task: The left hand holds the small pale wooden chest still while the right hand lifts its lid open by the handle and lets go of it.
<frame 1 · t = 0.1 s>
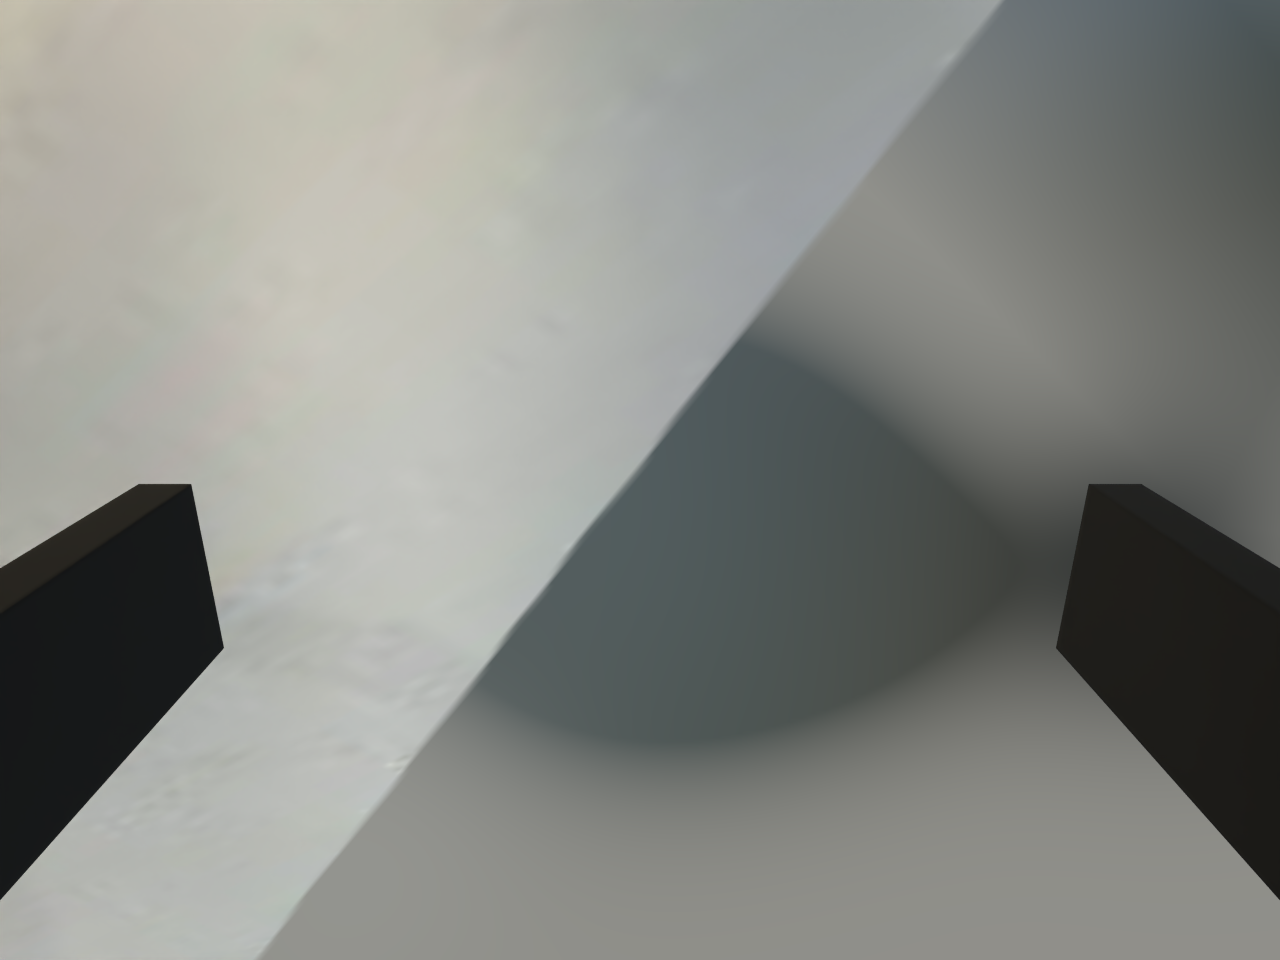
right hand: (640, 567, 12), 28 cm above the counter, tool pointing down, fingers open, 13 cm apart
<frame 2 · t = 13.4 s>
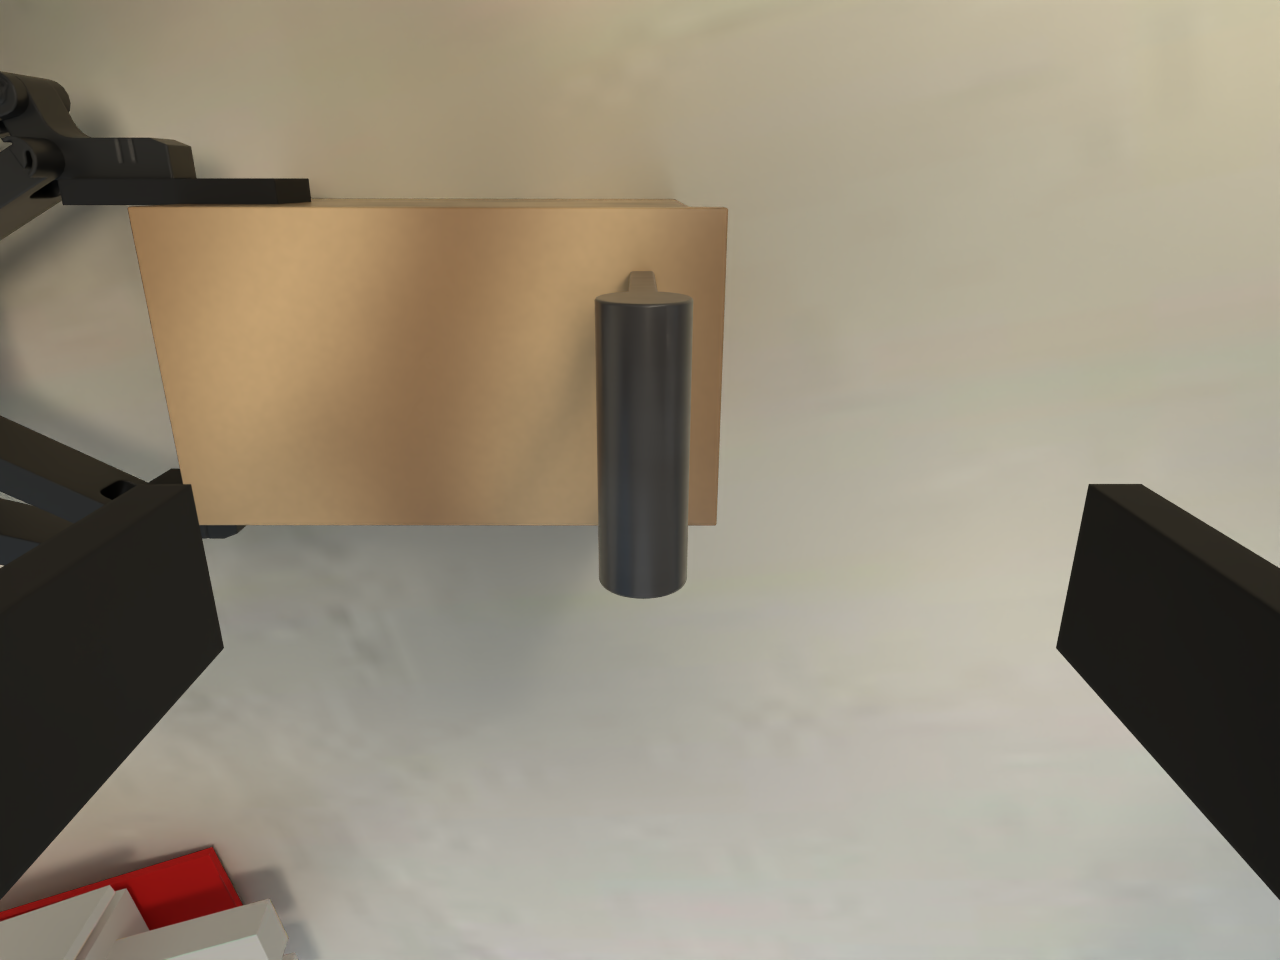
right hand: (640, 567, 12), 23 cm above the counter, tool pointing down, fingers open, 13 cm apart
chest: (486, 320, 34), on the counter, touching left hand
toy: (57, 936, 45), on the counter
lid: (411, 407, 21), point 14 cm above the counter, hinge at 0.0°
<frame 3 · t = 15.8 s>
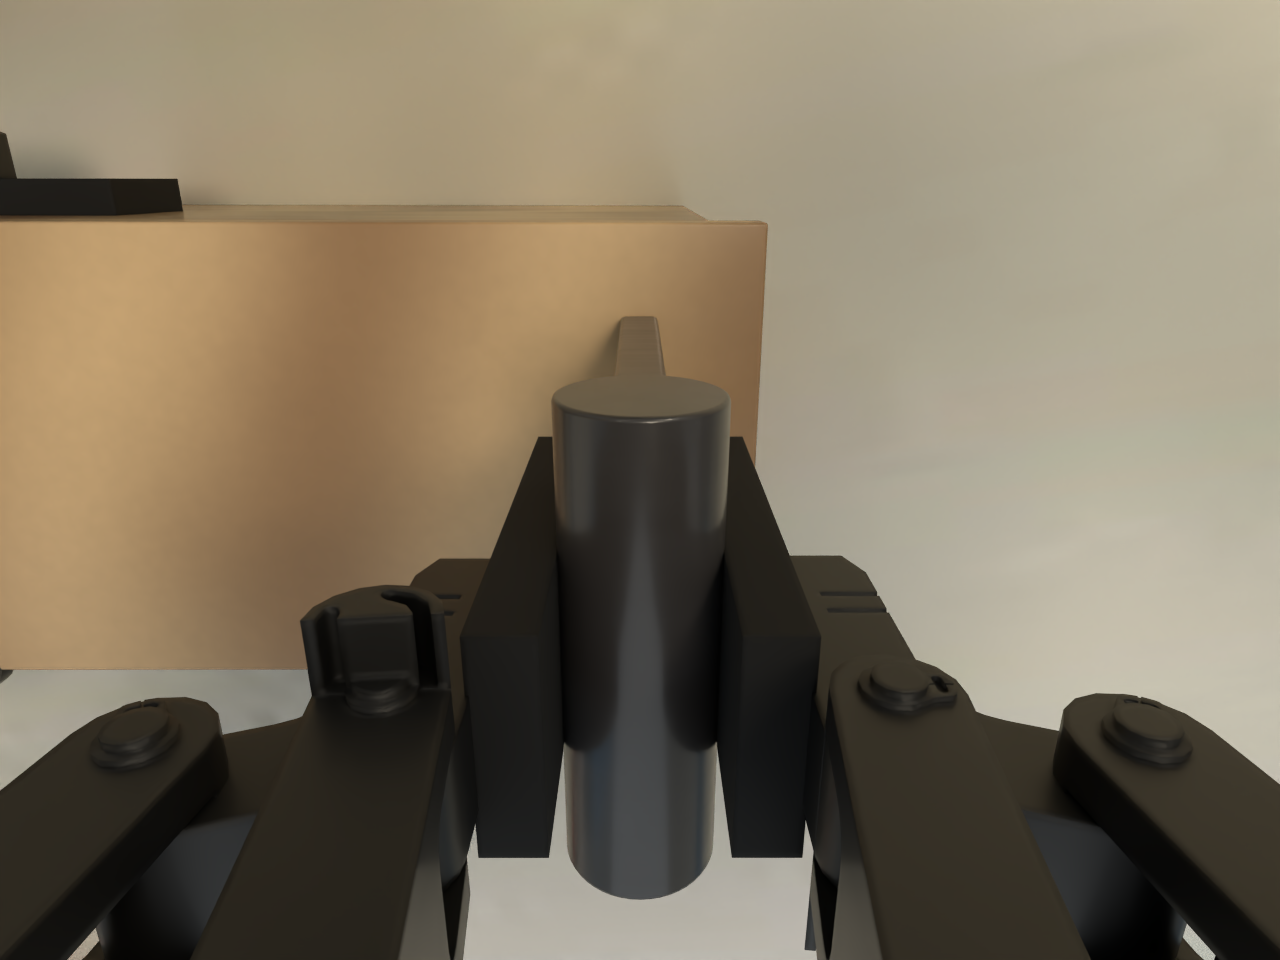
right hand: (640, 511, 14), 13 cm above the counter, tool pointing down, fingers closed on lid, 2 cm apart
chest: (439, 361, 26), on the counter, touching left hand
lid: (278, 537, 13), point 14 cm above the counter, hinge at -0.1°, touching right hand
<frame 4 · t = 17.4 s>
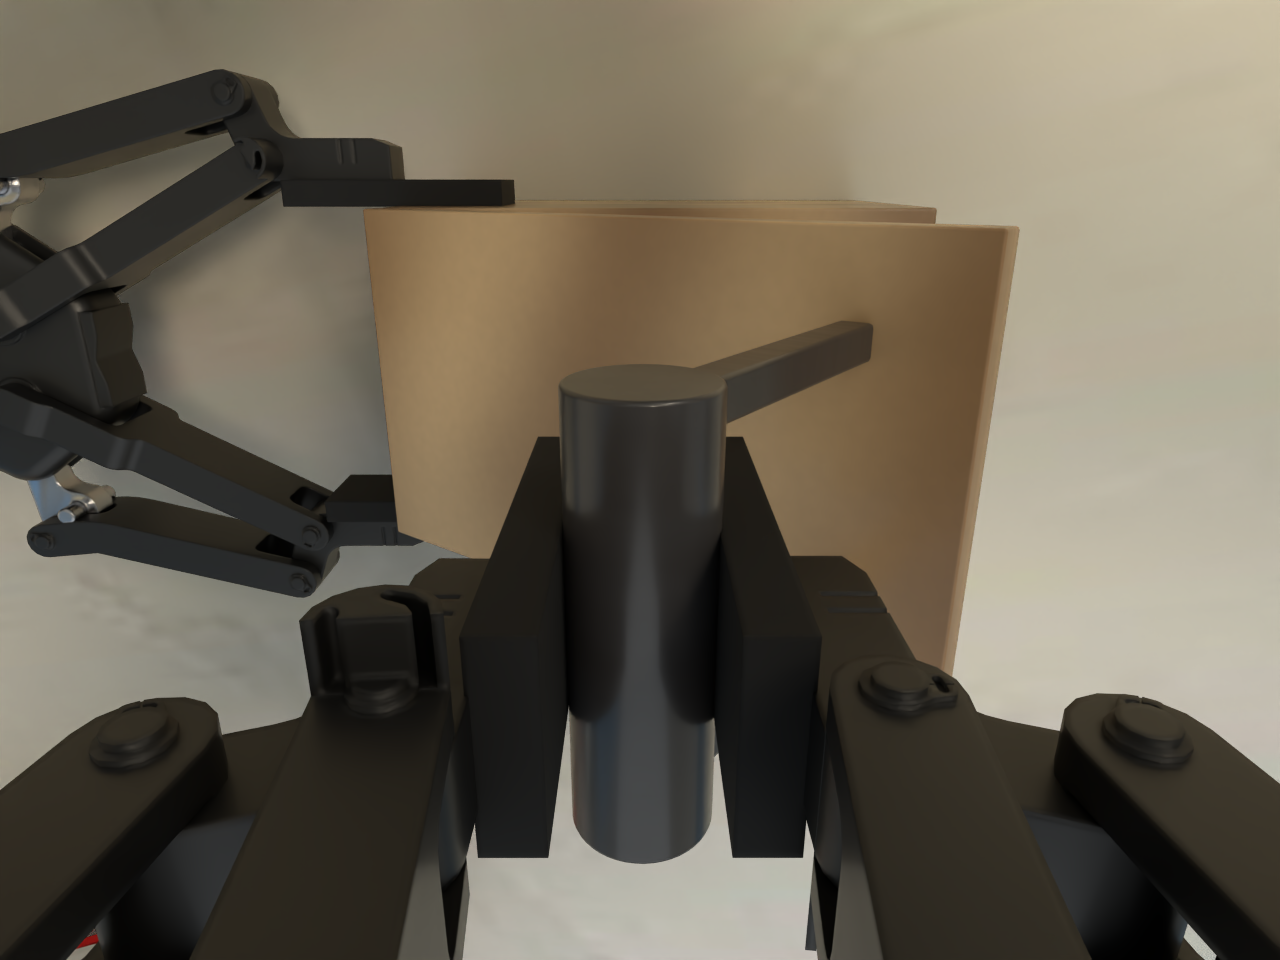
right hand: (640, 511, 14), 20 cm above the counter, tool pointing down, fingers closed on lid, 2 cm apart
left hand: (516, 354, 27), fingers closed on chest, 9 cm apart
chest: (653, 323, 33), on the counter, touching left hand
toy: (178, 946, 45), on the counter
lid: (500, 467, 17), point 18 cm above the counter, hinge at 35.8°, touching right hand
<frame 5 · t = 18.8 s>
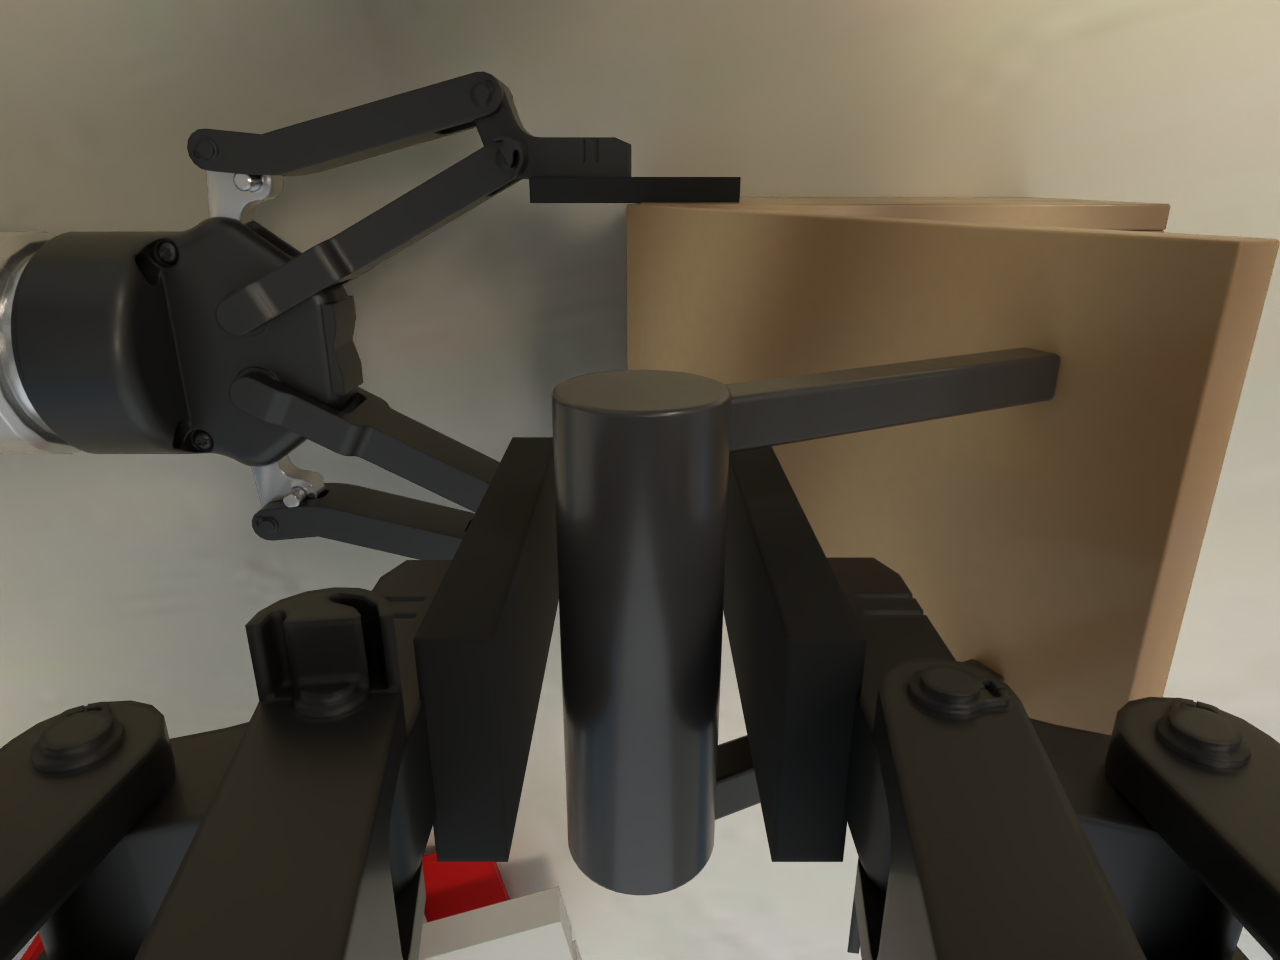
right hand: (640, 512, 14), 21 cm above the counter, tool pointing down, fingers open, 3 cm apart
left hand: (729, 345, 28), fingers closed on chest, 9 cm apart
chest: (825, 316, 34), on the counter, touching left hand
toy: (318, 925, 46), on the counter
lid: (652, 463, 17), point 19 cm above the counter, hinge at 62.9°
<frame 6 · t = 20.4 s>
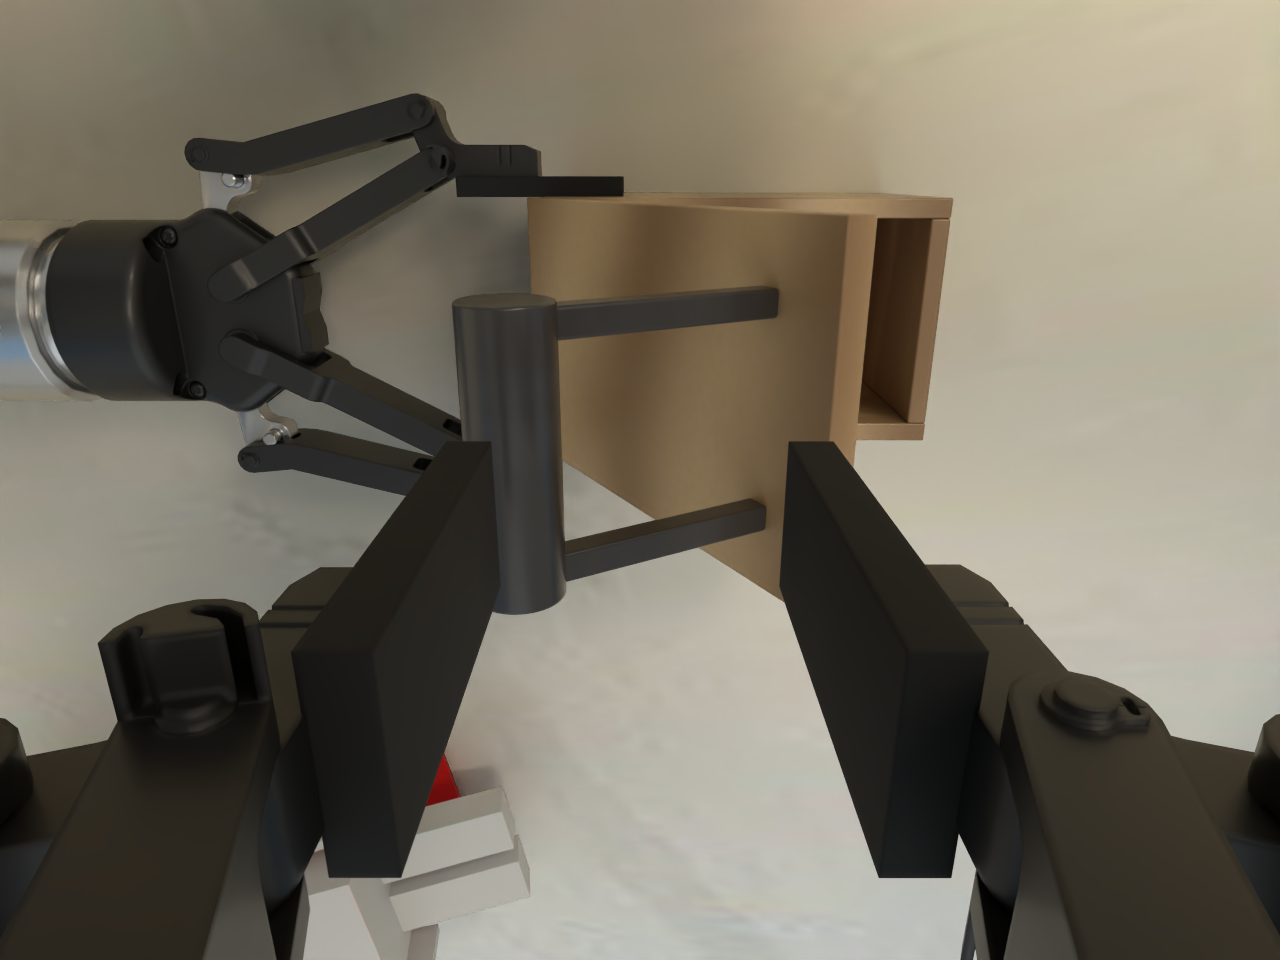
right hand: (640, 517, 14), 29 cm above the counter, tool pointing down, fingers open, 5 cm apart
left hand: (623, 312, 35), fingers closed on chest, 9 cm apart
chest: (719, 293, 41), on the counter, touching left hand
toy: (296, 829, 53), on the counter
lid: (539, 380, 23), point 19 cm above the counter, hinge at 59.2°
when the left hand's fingers open (6 cm above the counter, at t = 22.8 s): chest stays where it is, on the counter.
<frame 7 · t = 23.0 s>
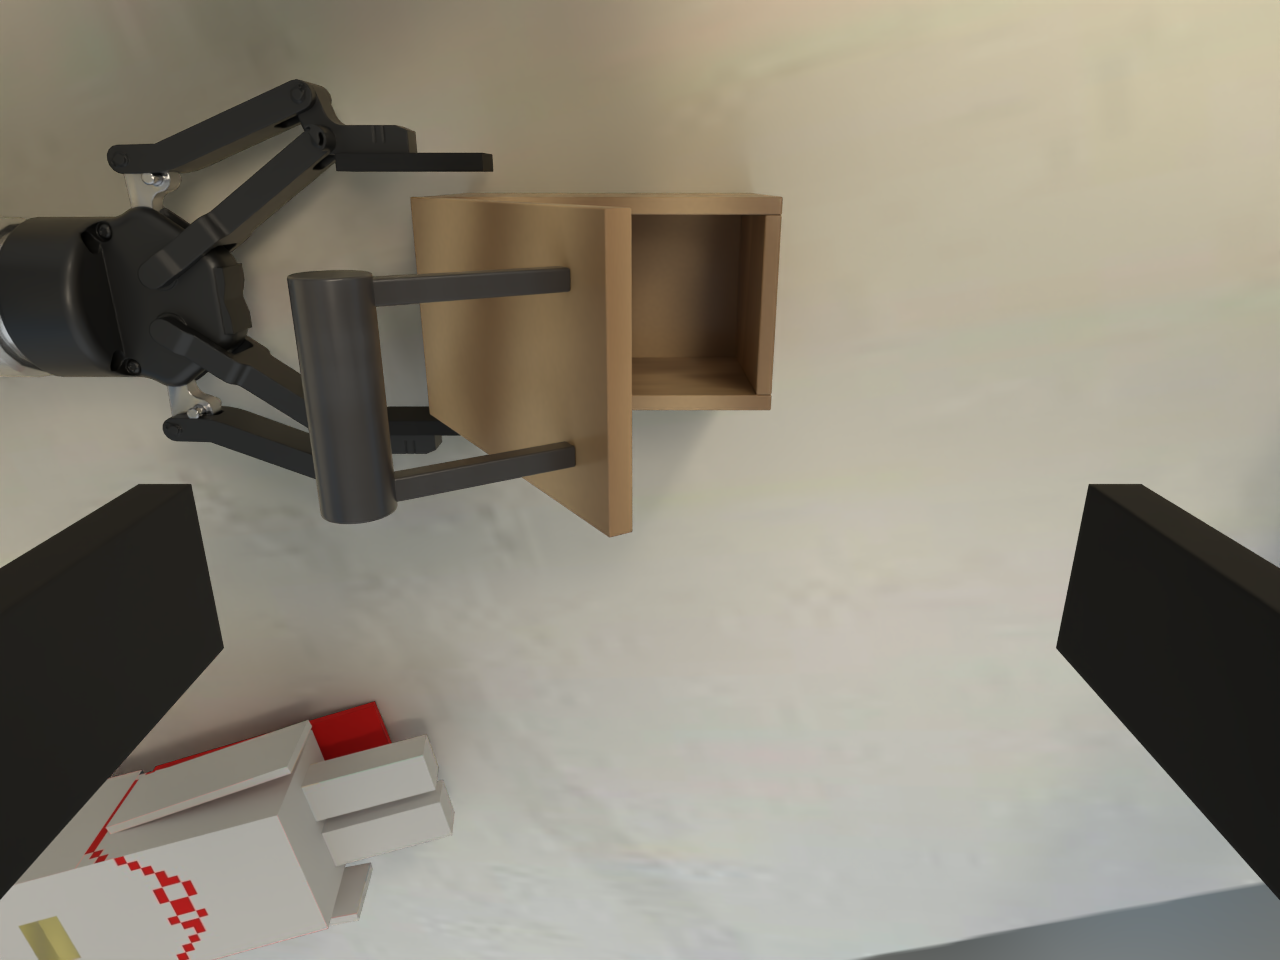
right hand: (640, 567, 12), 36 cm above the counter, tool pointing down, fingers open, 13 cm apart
left hand: (496, 298, 40), fingers open, 11 cm apart
chest: (610, 283, 46), on the counter
toy: (244, 778, 57), on the counter
lid: (399, 349, 28), point 19 cm above the counter, hinge at 57.8°
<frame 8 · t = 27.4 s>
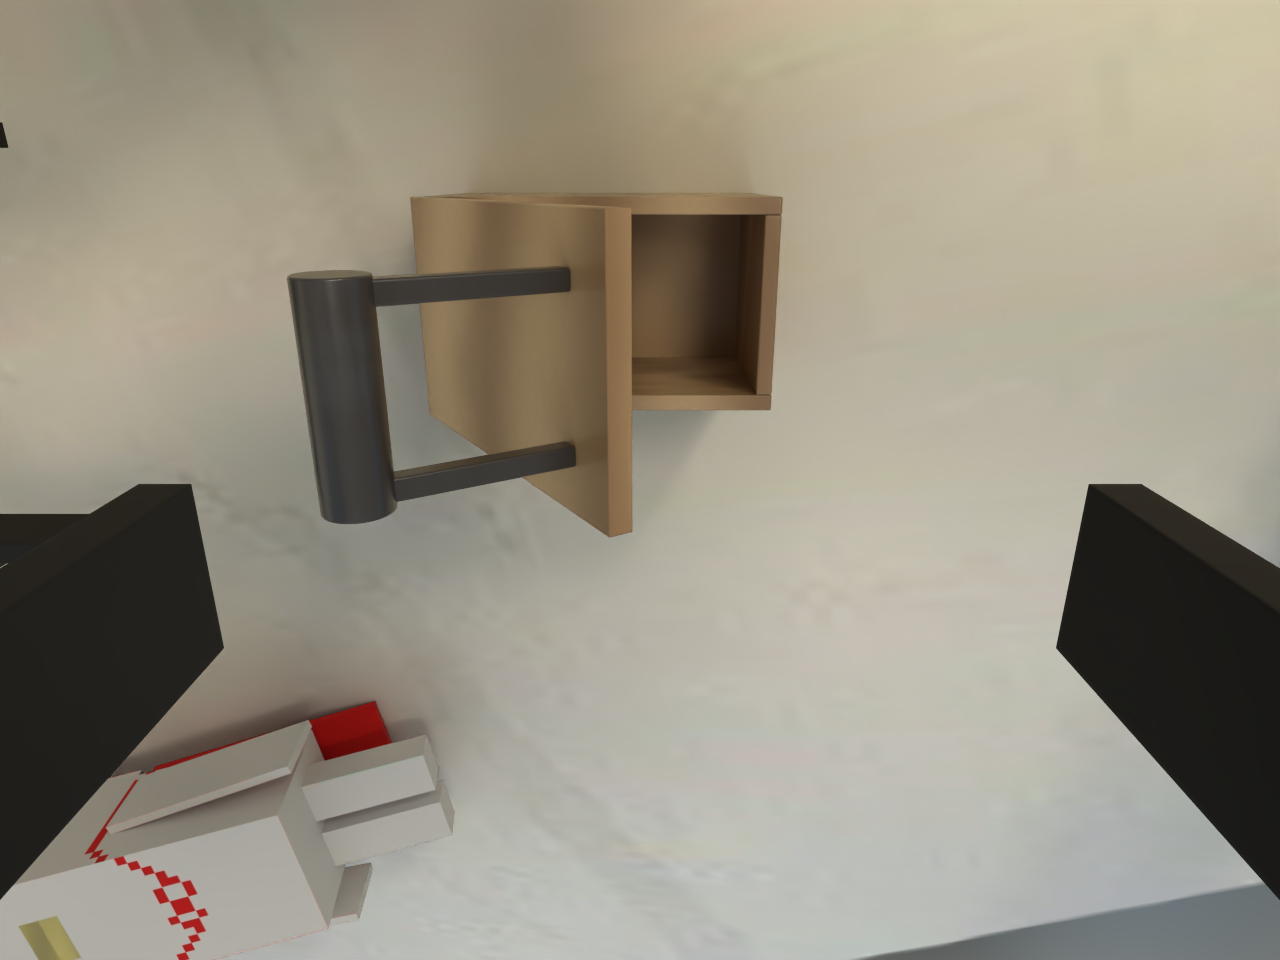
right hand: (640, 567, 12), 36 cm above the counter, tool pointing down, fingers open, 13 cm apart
chest: (610, 283, 46), on the counter
toy: (244, 778, 57), on the counter
lid: (399, 349, 28), point 19 cm above the counter, hinge at 57.8°
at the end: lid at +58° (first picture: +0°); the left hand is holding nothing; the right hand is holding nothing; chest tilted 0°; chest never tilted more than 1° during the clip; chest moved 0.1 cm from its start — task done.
